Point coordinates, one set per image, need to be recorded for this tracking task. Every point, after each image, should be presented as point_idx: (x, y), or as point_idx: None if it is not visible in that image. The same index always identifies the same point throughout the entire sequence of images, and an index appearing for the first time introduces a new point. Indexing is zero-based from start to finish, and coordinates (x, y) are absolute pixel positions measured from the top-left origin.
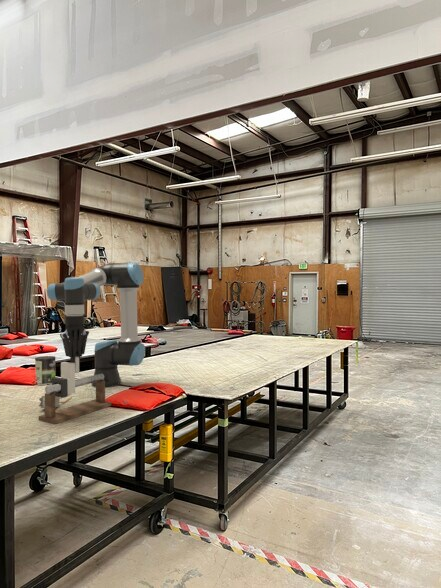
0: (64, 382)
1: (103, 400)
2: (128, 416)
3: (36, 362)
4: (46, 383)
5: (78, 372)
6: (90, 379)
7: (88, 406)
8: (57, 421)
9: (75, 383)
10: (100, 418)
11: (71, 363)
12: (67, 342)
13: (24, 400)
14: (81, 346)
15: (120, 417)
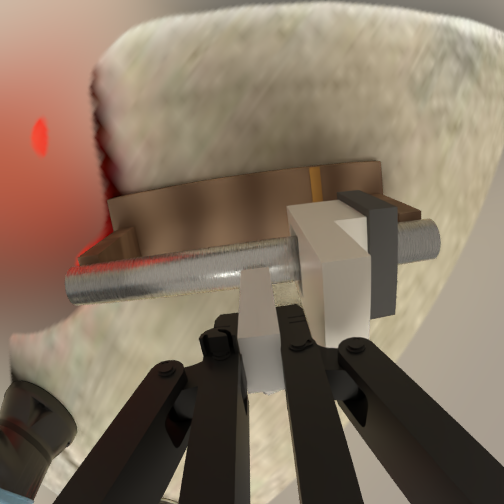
0: (383, 203)
1: (123, 229)
2: (158, 28)
3: None
4: (167, 501)
5: (247, 271)
6: (157, 259)
7: (200, 217)
8: (369, 161)
9: (272, 241)
10: (236, 80)
11: (354, 267)
12: (473, 456)
13: (277, 449)
14: (160, 451)
15: (182, 37)
